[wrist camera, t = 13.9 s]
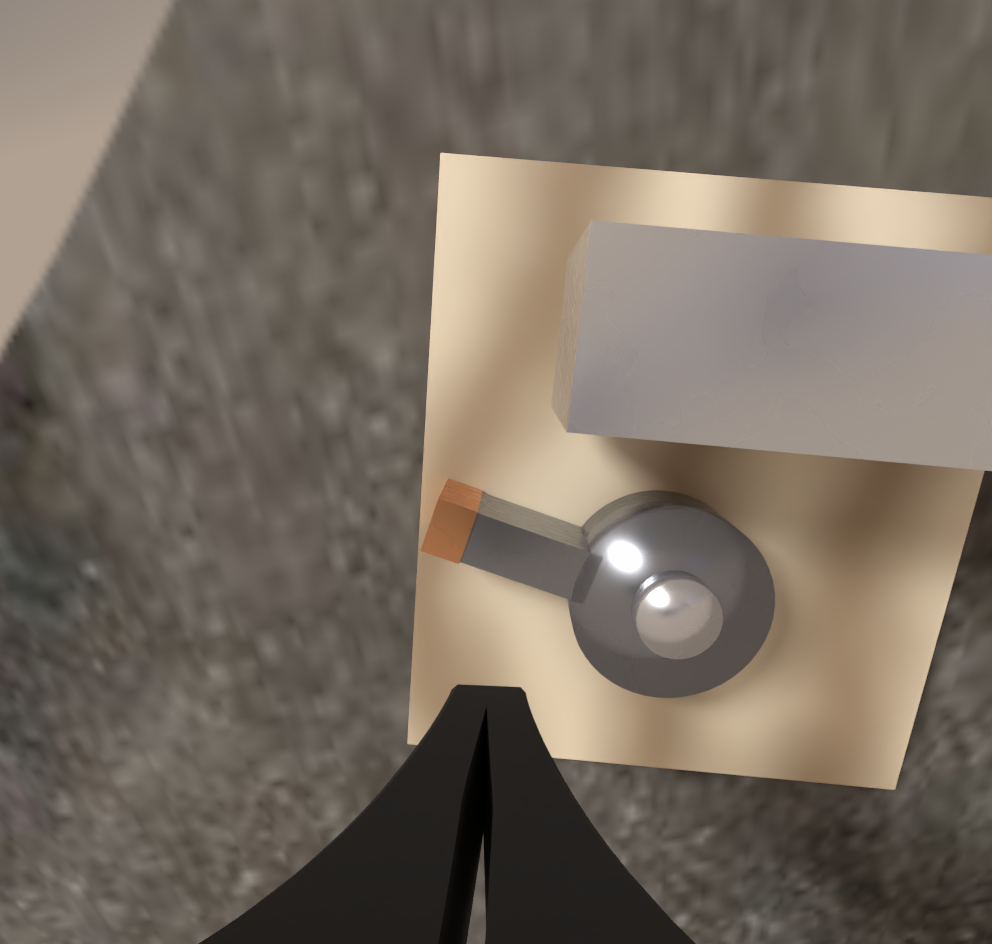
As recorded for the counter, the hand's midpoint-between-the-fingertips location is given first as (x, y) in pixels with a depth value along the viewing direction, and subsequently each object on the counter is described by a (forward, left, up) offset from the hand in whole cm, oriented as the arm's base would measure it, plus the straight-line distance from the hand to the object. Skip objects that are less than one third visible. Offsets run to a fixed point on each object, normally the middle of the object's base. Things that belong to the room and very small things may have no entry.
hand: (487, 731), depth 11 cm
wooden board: (-6, -3, -10) cm, 12 cm away
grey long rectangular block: (-7, -8, -7) cm, 12 cm away
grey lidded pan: (-3, -1, -9) cm, 9 cm away
